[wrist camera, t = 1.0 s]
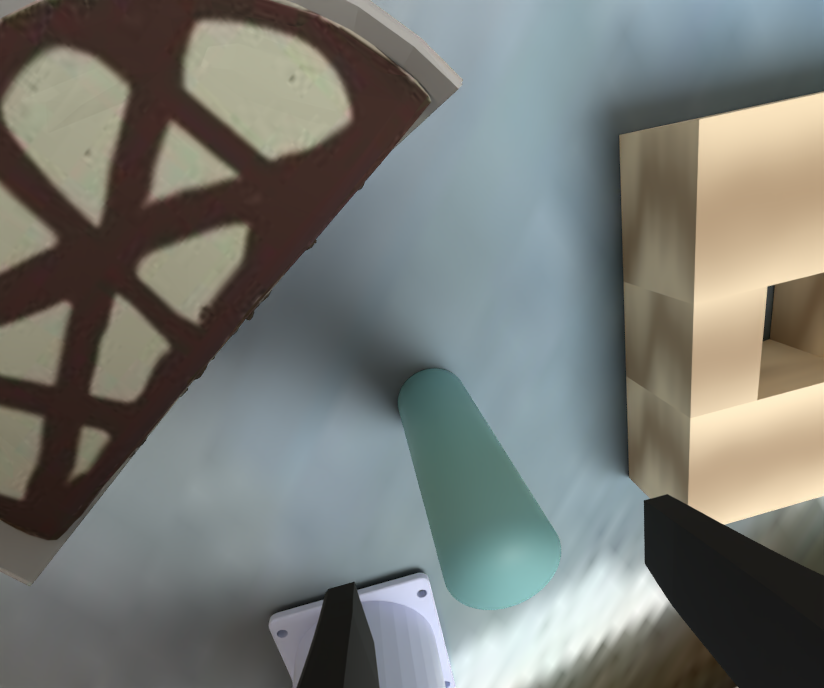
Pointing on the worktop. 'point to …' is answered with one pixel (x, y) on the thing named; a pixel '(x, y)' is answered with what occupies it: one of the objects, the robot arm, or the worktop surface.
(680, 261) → the hole block
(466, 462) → the peg
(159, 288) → the food container
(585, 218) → the worktop surface
